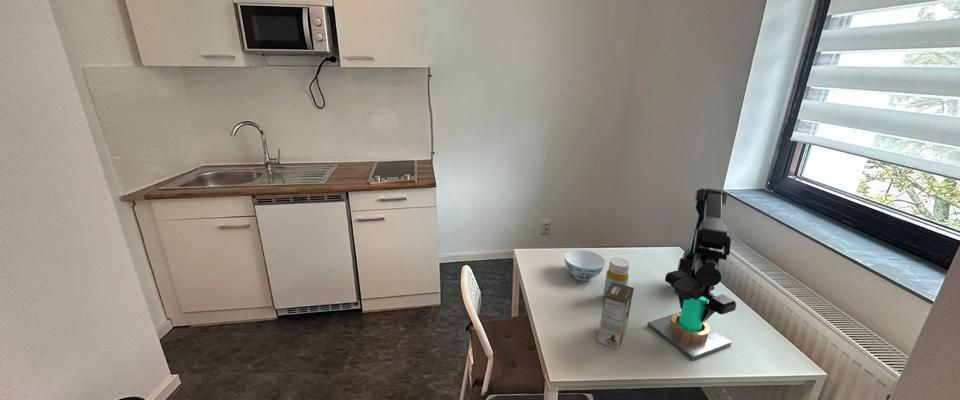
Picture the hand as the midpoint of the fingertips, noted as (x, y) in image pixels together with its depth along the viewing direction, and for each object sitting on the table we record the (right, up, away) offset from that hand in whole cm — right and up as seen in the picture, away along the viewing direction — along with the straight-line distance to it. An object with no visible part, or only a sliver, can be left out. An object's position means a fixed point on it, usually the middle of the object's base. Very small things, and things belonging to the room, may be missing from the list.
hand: (692, 315), depth 111 cm
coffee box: (-24, -7, +1) cm, 25 cm away
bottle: (-17, -1, +19) cm, 25 cm away
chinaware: (-23, +4, +34) cm, 41 cm away
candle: (0, -3, +1) cm, 4 cm away
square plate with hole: (0, -7, +2) cm, 7 cm away
